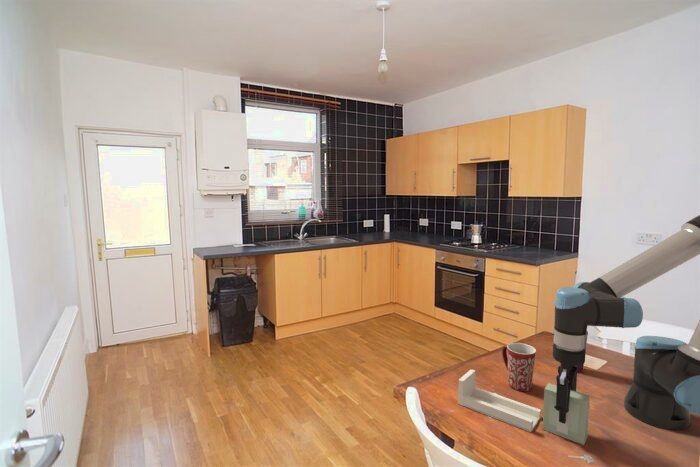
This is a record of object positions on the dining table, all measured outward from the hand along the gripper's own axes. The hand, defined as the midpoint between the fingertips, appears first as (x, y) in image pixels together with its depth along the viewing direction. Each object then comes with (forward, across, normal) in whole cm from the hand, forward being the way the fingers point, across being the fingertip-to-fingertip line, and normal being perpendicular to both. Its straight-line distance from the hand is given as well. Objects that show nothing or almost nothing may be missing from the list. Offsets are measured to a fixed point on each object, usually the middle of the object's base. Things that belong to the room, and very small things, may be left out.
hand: (564, 427), depth 103 cm
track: (+2, +1, -17) cm, 17 cm away
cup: (+2, -43, -6) cm, 43 cm away
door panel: (+2, 0, 0) cm, 2 cm away
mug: (+2, -19, -19) cm, 27 cm away
